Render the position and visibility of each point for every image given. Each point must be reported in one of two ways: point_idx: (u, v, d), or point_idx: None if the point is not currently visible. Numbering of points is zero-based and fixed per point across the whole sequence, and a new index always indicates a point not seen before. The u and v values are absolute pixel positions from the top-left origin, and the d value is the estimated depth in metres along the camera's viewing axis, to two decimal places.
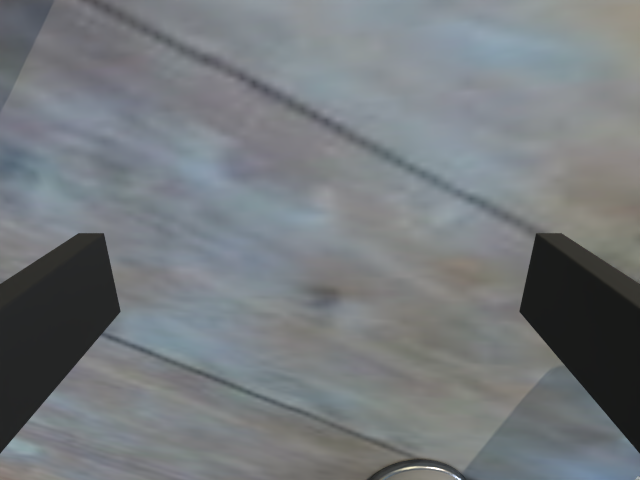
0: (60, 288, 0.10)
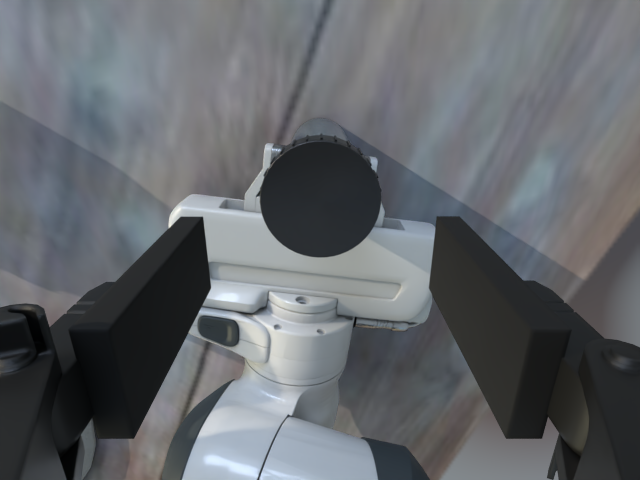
0: (182, 261, 0.11)
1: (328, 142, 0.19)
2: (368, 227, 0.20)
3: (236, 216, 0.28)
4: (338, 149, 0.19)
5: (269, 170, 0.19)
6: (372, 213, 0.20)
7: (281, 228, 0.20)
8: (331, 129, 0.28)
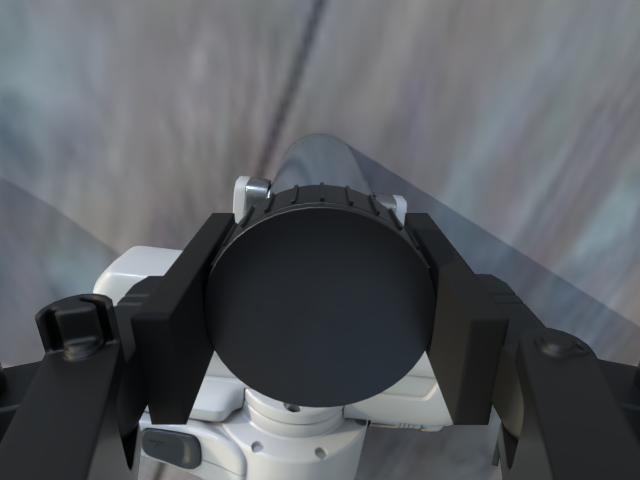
0: None
1: (336, 209, 0.09)
2: (410, 359, 0.11)
3: None
4: (356, 223, 0.09)
5: (219, 261, 0.10)
6: (419, 336, 0.10)
7: (246, 361, 0.11)
8: (337, 156, 0.18)
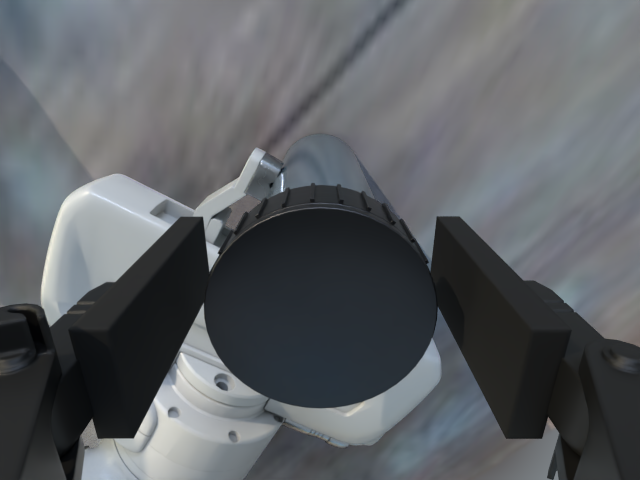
0: (182, 261, 0.11)
1: (206, 297, 0.10)
2: (385, 235, 0.09)
3: None
4: (219, 282, 0.10)
5: (255, 389, 0.11)
6: (354, 226, 0.09)
7: (363, 383, 0.11)
8: (355, 166, 0.18)
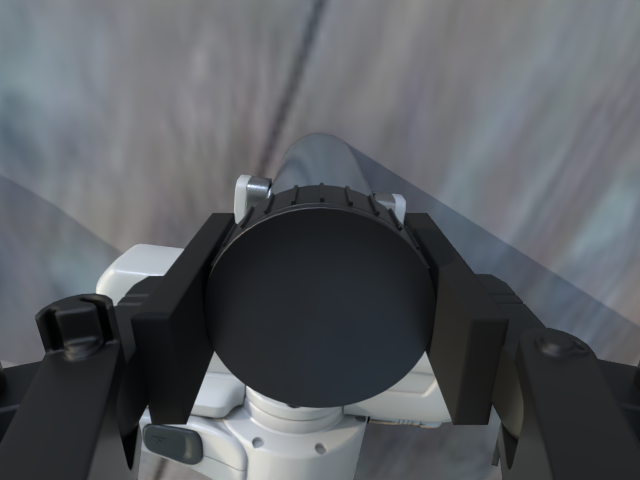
0: None
1: (209, 333, 0.10)
2: (343, 219, 0.09)
3: None
4: (214, 316, 0.10)
5: (290, 403, 0.11)
6: (311, 221, 0.09)
7: (389, 365, 0.11)
8: (336, 155, 0.18)
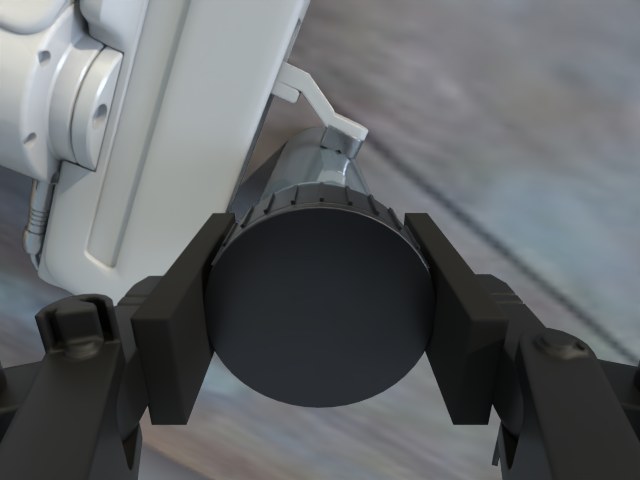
0: None
1: (209, 333, 0.10)
2: (343, 218, 0.09)
3: (278, 48, 0.16)
4: (214, 316, 0.10)
5: (290, 402, 0.11)
6: (310, 220, 0.09)
7: (388, 365, 0.11)
8: None
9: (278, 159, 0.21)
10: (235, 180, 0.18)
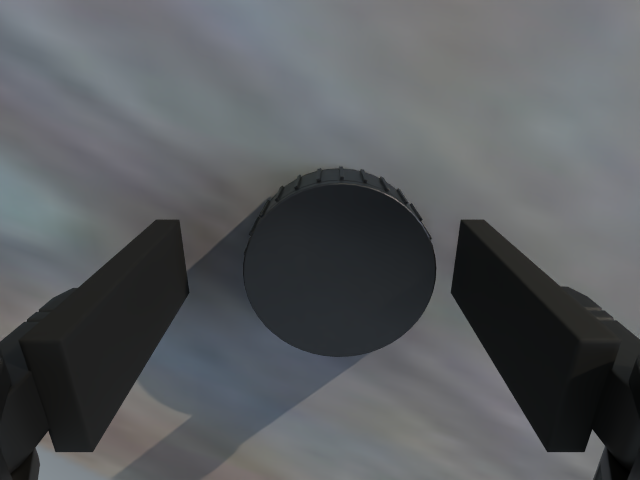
0: (153, 266, 0.11)
1: (247, 289, 0.13)
2: (359, 193, 0.11)
3: None
4: (251, 274, 0.12)
5: (312, 351, 0.13)
6: (333, 194, 0.11)
7: (396, 319, 0.13)
8: None
9: None
10: None
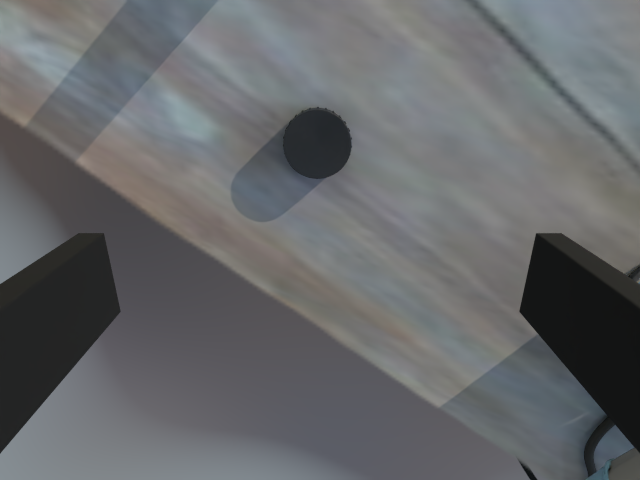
0: (60, 288, 0.10)
1: (284, 150, 0.35)
2: (323, 113, 0.34)
3: None
4: (286, 144, 0.35)
5: (308, 176, 0.36)
6: (314, 113, 0.34)
7: (338, 162, 0.36)
8: None
9: None
10: None
